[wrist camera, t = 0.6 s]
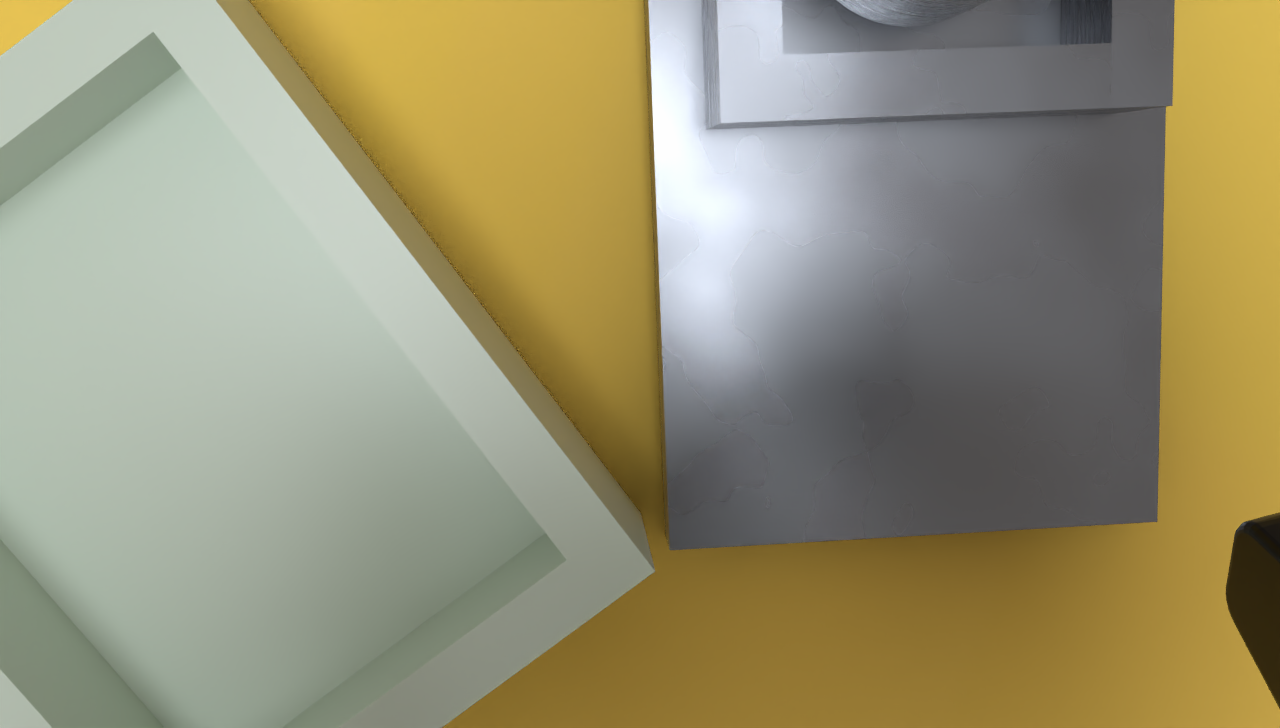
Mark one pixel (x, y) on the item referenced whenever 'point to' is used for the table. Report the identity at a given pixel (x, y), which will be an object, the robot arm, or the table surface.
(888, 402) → the grey slab
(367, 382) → the tray
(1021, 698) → the table surface
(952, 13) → the pin
